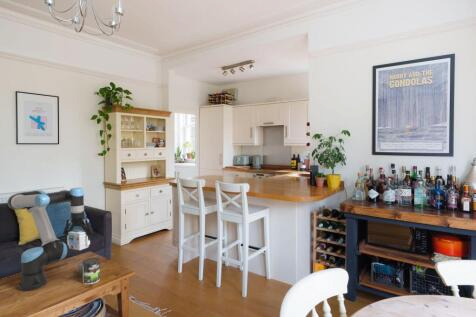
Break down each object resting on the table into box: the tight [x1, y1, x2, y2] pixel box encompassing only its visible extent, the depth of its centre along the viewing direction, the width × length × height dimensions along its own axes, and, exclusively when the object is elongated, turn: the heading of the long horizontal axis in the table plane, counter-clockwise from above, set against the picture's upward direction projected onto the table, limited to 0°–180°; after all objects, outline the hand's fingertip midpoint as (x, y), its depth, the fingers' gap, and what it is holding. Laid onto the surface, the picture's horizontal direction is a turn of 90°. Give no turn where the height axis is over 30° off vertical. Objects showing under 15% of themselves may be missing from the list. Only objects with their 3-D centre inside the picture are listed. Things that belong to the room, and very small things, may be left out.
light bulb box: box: [68, 229, 90, 251], centre depth 184 cm, size 11×7×11 cm, turn 67°
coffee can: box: [81, 257, 101, 285], centre depth 191 cm, size 10×10×14 cm
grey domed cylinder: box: [77, 262, 83, 277], centre depth 200 cm, size 5×5×8 cm
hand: (78, 244), depth 184 cm, fingers closed on light bulb box, 12 cm apart
